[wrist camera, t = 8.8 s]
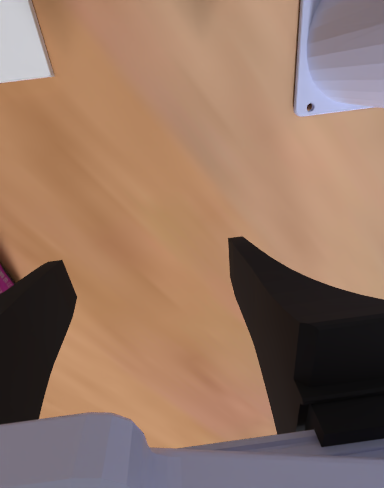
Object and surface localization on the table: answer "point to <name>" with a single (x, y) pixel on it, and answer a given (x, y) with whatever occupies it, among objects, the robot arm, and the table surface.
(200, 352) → the table surface
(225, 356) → the table surface
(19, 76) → the pad
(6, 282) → the candy bar box
